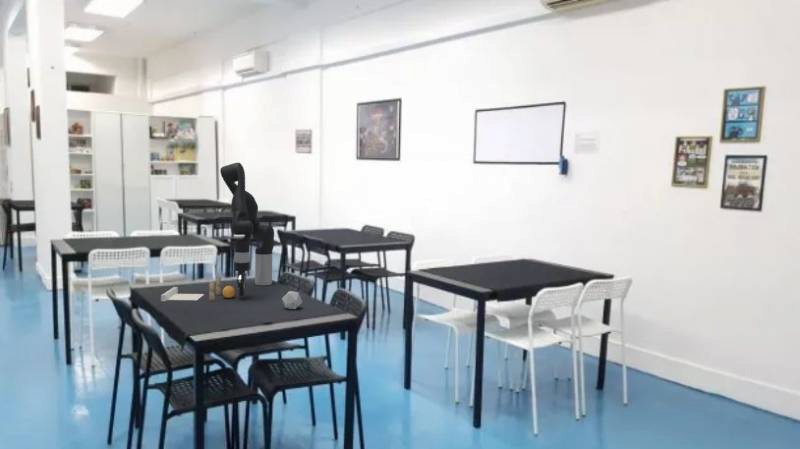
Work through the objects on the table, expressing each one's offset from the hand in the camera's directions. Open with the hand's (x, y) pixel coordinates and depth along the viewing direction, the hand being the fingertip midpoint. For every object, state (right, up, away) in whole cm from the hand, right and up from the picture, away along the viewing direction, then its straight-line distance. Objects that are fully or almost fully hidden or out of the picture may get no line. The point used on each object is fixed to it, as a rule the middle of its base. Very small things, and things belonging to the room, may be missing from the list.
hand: (241, 295), depth 298 cm
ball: (-7, +2, 0) cm, 7 cm away
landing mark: (-27, -1, -1) cm, 27 cm away
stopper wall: (-35, -1, -1) cm, 35 cm away
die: (+28, -4, -18) cm, 33 cm away
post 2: (-14, -1, +7) cm, 15 cm away
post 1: (-13, -2, -6) cm, 14 cm away
